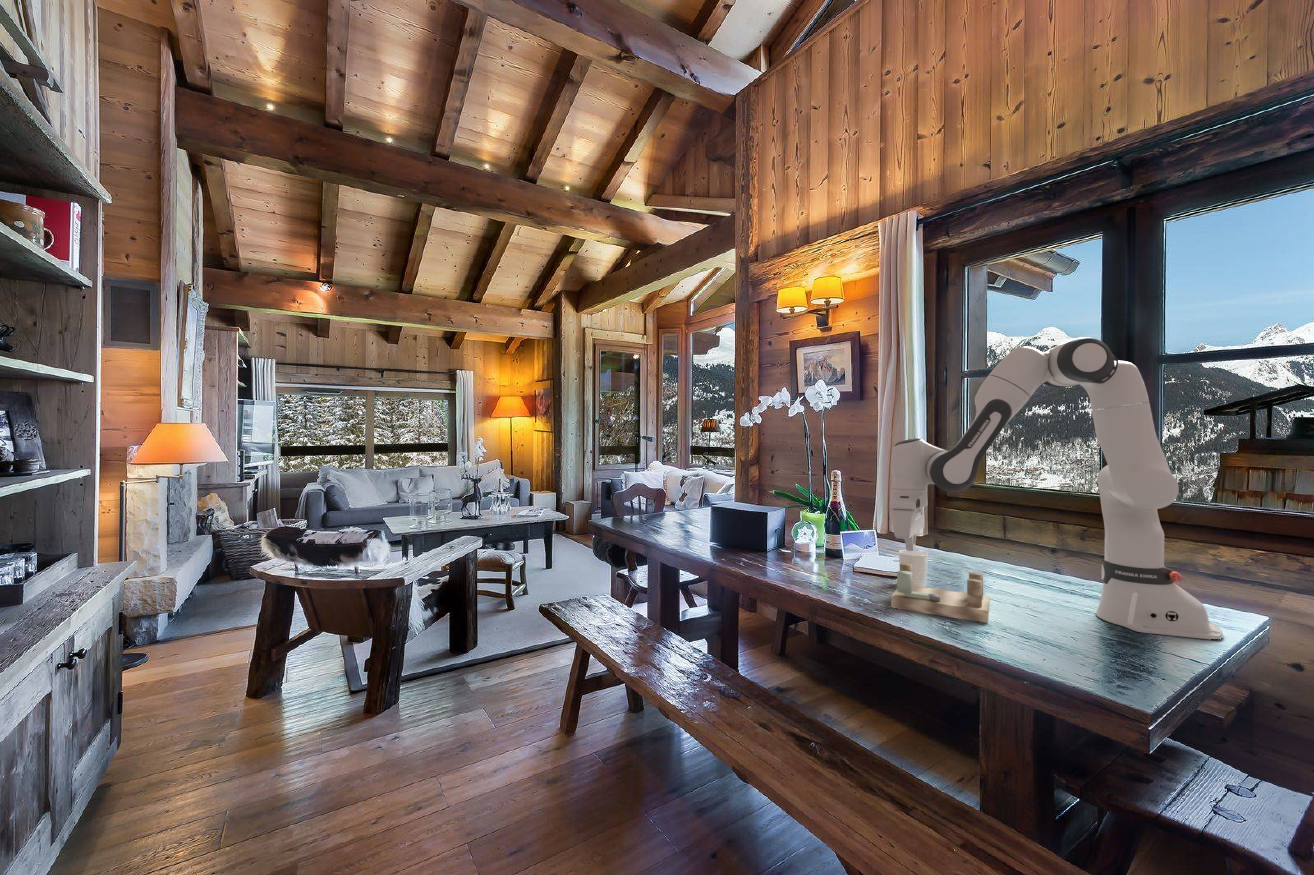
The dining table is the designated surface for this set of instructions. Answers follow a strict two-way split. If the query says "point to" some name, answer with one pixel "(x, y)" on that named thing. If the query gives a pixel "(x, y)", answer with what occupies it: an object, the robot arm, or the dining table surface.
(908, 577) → the folding leg
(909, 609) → the wooden base with posts
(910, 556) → the white cup
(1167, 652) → the dining table surface
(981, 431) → the robot arm
